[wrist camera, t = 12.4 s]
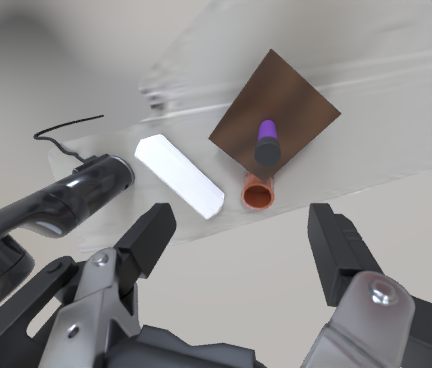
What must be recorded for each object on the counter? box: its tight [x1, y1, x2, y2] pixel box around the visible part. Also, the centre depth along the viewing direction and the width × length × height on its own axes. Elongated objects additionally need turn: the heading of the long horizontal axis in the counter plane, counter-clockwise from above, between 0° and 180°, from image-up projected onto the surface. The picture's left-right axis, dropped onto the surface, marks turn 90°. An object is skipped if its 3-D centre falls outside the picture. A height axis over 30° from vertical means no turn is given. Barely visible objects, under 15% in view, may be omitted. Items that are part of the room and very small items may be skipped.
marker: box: [254, 120, 281, 167], centre depth 21 cm, size 2×2×11 cm
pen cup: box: [241, 172, 274, 210], centre depth 37 cm, size 6×6×6 cm
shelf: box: [208, 49, 341, 182], centre depth 29 cm, size 12×14×8 cm
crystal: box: [135, 134, 224, 220], centre depth 41 cm, size 7×7×24 cm
